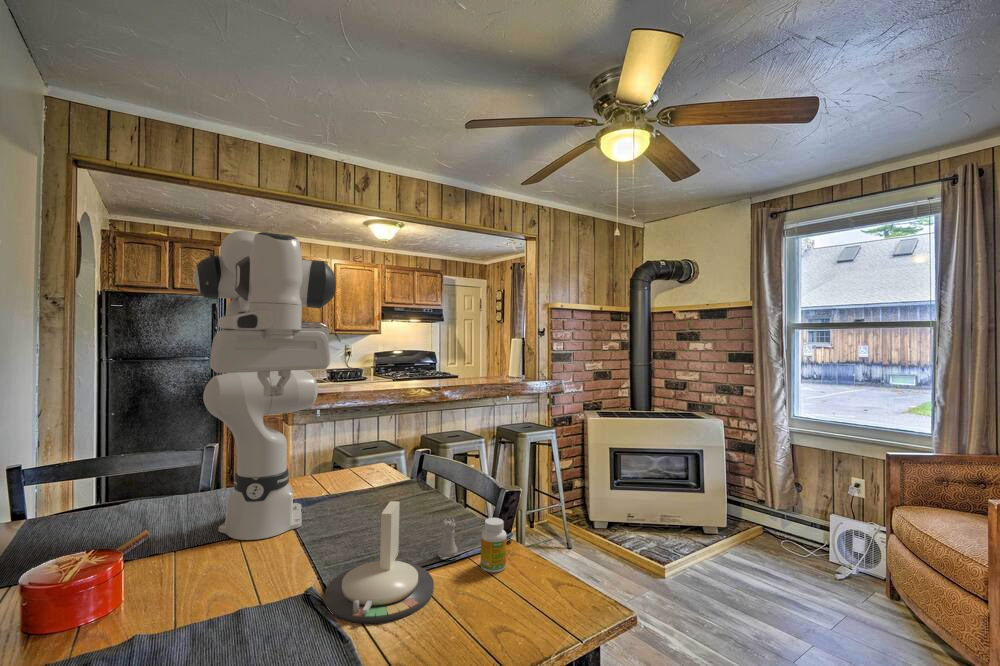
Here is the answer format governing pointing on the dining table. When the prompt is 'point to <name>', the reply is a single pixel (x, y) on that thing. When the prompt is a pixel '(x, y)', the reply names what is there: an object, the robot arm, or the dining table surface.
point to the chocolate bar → (133, 541)
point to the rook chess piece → (448, 539)
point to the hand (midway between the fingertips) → (273, 395)
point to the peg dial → (382, 569)
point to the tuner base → (378, 613)
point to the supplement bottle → (493, 546)
